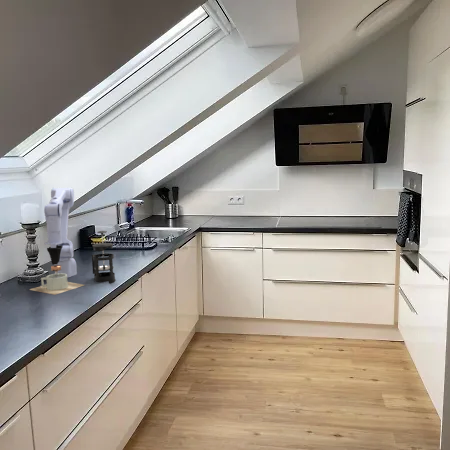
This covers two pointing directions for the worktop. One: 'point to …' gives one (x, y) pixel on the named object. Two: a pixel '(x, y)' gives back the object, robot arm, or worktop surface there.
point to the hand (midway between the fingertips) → (55, 263)
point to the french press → (96, 268)
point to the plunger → (56, 270)
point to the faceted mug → (55, 282)
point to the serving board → (54, 292)
